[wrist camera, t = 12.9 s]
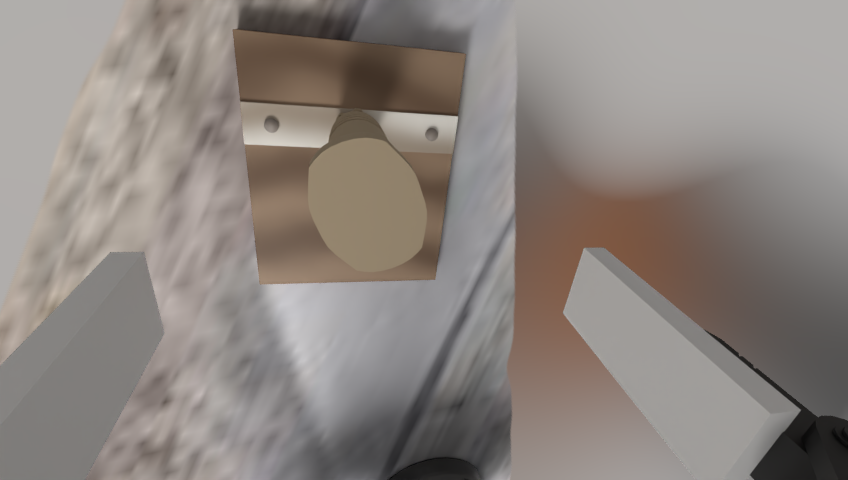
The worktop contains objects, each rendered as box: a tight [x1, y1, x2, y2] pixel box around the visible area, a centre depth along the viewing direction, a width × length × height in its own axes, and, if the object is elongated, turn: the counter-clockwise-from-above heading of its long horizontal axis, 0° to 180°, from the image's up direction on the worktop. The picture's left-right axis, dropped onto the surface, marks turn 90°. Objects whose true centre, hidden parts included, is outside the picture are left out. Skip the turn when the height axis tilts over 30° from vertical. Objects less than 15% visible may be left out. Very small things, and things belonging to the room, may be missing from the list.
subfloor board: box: [233, 29, 466, 284], centre depth 33 cm, size 20×16×2 cm
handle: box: [308, 108, 427, 272], centre depth 24 cm, size 5×6×15 cm
